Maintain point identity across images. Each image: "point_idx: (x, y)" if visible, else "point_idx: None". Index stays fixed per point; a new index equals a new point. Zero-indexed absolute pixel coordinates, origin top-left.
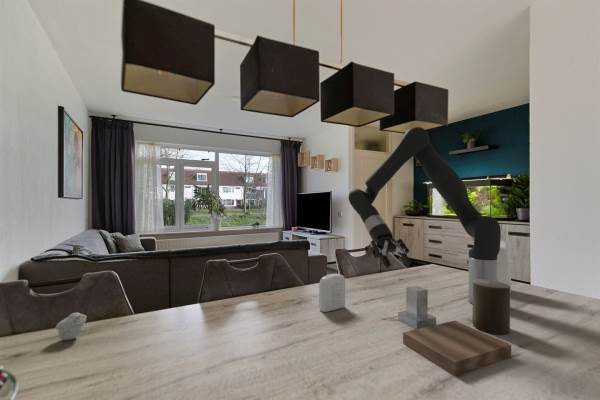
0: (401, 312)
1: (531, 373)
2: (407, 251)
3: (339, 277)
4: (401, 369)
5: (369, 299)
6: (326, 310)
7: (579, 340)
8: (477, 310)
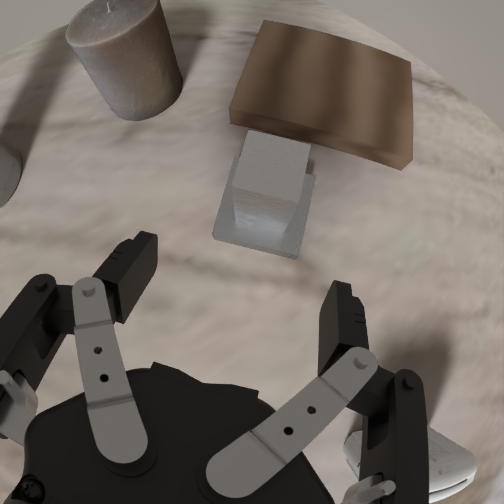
0: (290, 246)
1: (293, 16)
2: (55, 282)
3: None
4: (459, 134)
5: None
6: None
7: None
8: (167, 69)
